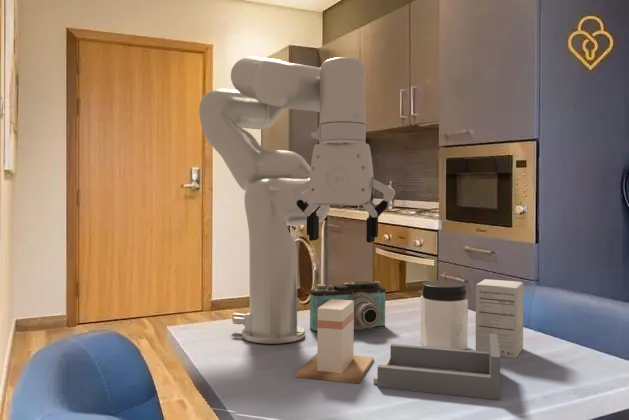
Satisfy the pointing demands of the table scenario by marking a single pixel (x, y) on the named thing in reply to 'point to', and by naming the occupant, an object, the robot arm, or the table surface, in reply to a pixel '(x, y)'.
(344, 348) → the taped cardboard box
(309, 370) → the cork mat
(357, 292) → the camera
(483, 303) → the supplement box
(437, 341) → the jar
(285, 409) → the table surface
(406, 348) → the frame
